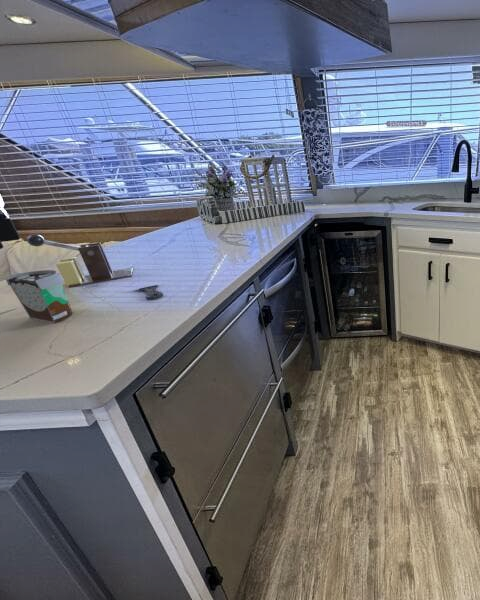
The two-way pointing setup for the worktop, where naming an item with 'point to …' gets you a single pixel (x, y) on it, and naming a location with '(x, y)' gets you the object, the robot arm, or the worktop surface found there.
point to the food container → (41, 295)
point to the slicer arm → (47, 242)
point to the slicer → (99, 266)
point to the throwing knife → (151, 292)
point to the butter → (70, 271)
